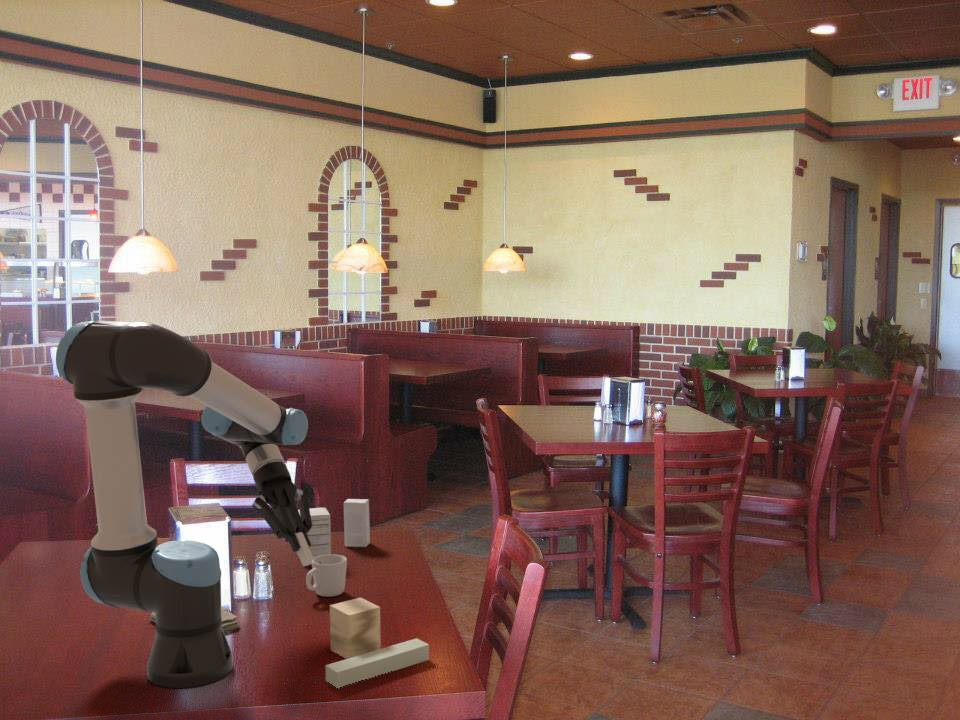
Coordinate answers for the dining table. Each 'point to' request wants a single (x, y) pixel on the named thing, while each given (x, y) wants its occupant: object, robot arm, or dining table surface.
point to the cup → (327, 575)
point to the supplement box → (319, 532)
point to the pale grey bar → (377, 662)
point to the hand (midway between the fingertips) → (308, 562)
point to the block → (354, 627)
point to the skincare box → (356, 523)
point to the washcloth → (227, 620)
